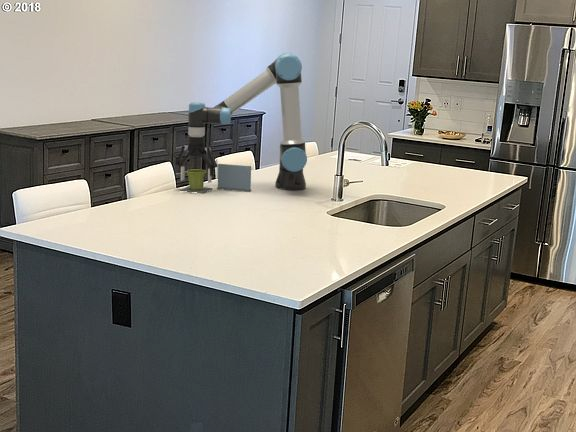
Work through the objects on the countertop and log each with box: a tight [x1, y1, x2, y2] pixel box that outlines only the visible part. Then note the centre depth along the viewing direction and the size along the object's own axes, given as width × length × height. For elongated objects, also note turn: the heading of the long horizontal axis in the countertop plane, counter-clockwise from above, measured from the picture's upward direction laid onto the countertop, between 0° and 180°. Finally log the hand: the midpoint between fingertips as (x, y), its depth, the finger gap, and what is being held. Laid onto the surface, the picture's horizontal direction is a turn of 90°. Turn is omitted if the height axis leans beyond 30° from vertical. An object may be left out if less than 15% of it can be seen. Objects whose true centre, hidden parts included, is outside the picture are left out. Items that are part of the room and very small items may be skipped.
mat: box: [179, 185, 213, 194], centre depth 363 cm, size 12×12×1 cm
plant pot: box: [186, 168, 208, 190], centre depth 362 cm, size 9×9×9 cm
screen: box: [216, 163, 252, 193], centre depth 366 cm, size 16×3×12 cm, turn 75°
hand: (196, 181), depth 362 cm, fingers open, 13 cm apart
